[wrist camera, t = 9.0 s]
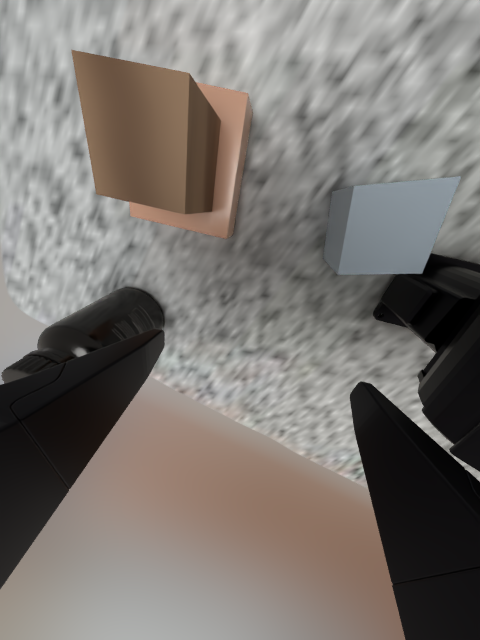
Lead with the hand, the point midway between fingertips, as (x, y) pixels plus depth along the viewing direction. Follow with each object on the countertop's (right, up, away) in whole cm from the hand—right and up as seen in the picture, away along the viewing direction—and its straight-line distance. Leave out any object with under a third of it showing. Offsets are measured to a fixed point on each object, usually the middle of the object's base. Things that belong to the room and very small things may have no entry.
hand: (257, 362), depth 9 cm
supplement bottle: (-13, +3, +15) cm, 20 cm away
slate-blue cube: (+9, +10, +7) cm, 15 cm away
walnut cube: (-5, +13, +5) cm, 14 cm away
